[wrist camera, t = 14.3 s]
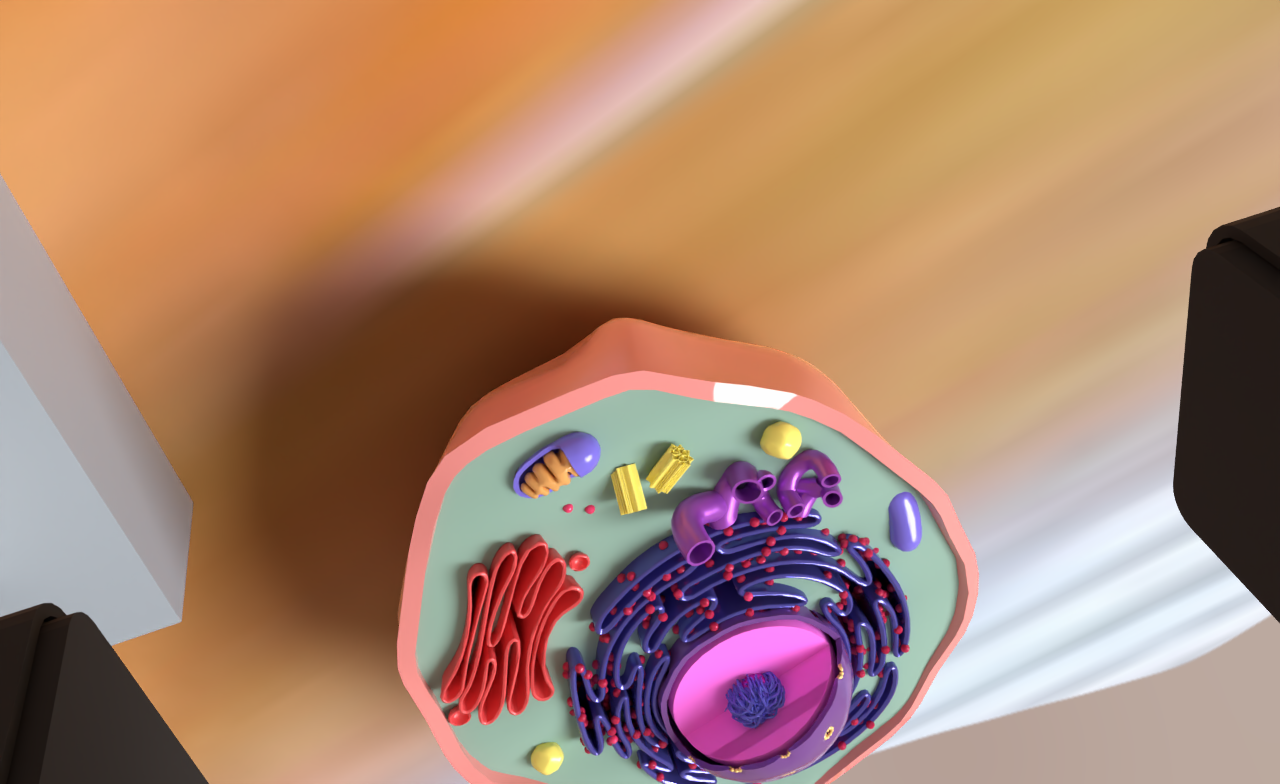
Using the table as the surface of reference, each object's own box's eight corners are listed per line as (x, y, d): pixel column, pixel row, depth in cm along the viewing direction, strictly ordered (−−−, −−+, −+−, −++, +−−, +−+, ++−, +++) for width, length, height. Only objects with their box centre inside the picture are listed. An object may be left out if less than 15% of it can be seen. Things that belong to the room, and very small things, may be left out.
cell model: (687, 117, 36) (826, 290, 27) (941, 509, 48) (1100, 725, 38) (246, 432, 38) (235, 692, 29) (590, 736, 50) (661, 993, 40)
